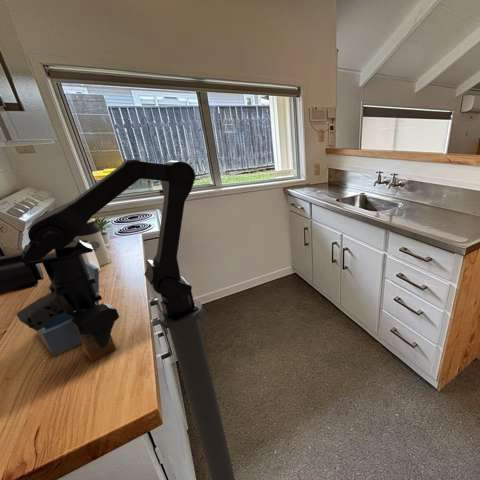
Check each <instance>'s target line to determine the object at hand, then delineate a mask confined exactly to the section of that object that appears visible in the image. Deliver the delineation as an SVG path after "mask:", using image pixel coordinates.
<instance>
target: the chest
mask: <svg viewBox="0 0 480 480" xmlns="http://www.w3.org/2000/svg"><path fill="white" fill-rule="evenodd" d="M72 319H73V317H72V316H71V315H68V314H67V315H65V314H63V313H61V314H60V315H59V316H57V317H56V318H55V319H54V320H53V321H51V322H50V323H48V324H47V325H45V327H43V328H42V329H40V330H37V331H35V332H36V334H37V336H38V337H39V339H40V340H41V341H42V343H43V344H44V345H45V347H46V348H47V350H48V351H49V352H50V353H51V355H52V356H53V357H56V356H59V355H60V354H63V353H65V352H66V351H69V350H70V349H72V348H75V347H77V346H79V345H81V343H80V341H79V338H80V337H83V336H85V335H81V334H79V332H78V331H77V330H76V329H75V327H74V325H73V323H72ZM86 335H87V334H86Z"/></svg>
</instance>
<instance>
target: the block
mask: <svg viewBox="0 0 480 480" xmlns="http://www.w3.org/2000/svg"><path fill="white" fill-rule="evenodd" d="M111 334H112V333H111ZM111 334H110V338H109V342H108V345H107V346H106V347H104V348H101V347H100V346H99V345H98V344H97V342H96V341H95V340H94V339H93V337H92V336H91V335H90V334H87V335H85V336H83V337H80V338H79V341H80V343H81V344H80V345H81V348H82V349H83V352H84V354H85V355H86V356H87V358H88V359H89V360H90V361H91V362H92V363H94V362H95V361H97V360H98V359H101V358H102V357H105V356H106V355H108V354H110V353H111V352H114V351H115V350H117V347H116V345H115V342H114V339H113V337H112V335H111Z"/></svg>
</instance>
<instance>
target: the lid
mask: <svg viewBox="0 0 480 480" xmlns="http://www.w3.org/2000/svg"><path fill="white" fill-rule="evenodd" d="M85 263H86V265H87V268H88V271H89V273H90V276H92V277H93V278H94V279H95V282H96V283H93V284H94V286H95V289H96V292H97V293H98V294H100V293H99V292H100V290H99V289H100V288H99V287H100V285H99V284H100V278H99V277H100V276H99V275H100V271H99V268H97V267H95V266H94V265H92V264H90V263H89V262H87V261H85ZM99 302H100V300H99V301H97V302H95V304H97V305H99V304H100V303H99Z"/></svg>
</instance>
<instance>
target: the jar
mask: <svg viewBox="0 0 480 480" xmlns="http://www.w3.org/2000/svg"><path fill="white" fill-rule="evenodd" d="M81 241H82V242H84V243H87V244H90V243H89V241H87V240H81ZM76 242H77V241H75V240H73V241H72V242H71V243H70V244H69V245H67V246H71V245H74V244H75V243H76ZM67 246H66V247H67ZM82 255H83V257H84V260H85V261H87V262H89V263H90V264H92V265H94V266H95V267H97V268H99V272H100V271H102V269H101V266H99V264H98V261H97V258H96V255H95V252H94V250H93V251H92V252H89V253H85V254H82Z"/></svg>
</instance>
